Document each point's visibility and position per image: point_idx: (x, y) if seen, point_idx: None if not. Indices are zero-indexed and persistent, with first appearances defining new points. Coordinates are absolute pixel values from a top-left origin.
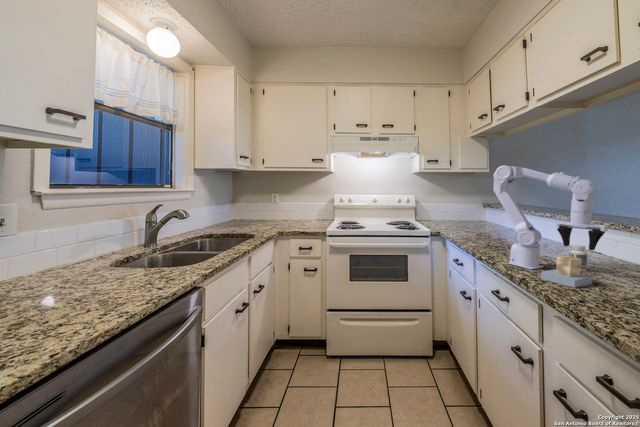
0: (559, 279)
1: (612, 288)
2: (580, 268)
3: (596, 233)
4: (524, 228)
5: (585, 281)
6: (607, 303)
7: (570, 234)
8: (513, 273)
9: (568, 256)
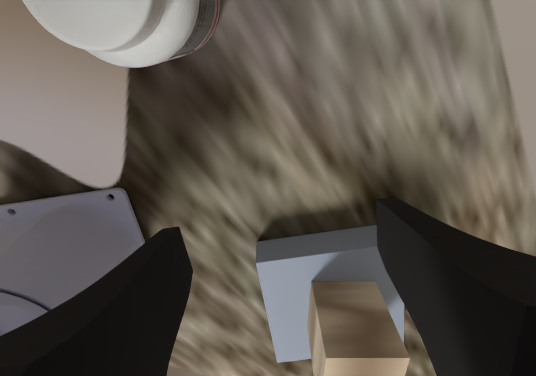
0: None
1: (461, 204)
2: (387, 311)
3: None
4: None
5: None
6: None
7: (115, 301)
8: (199, 370)
9: (341, 366)
